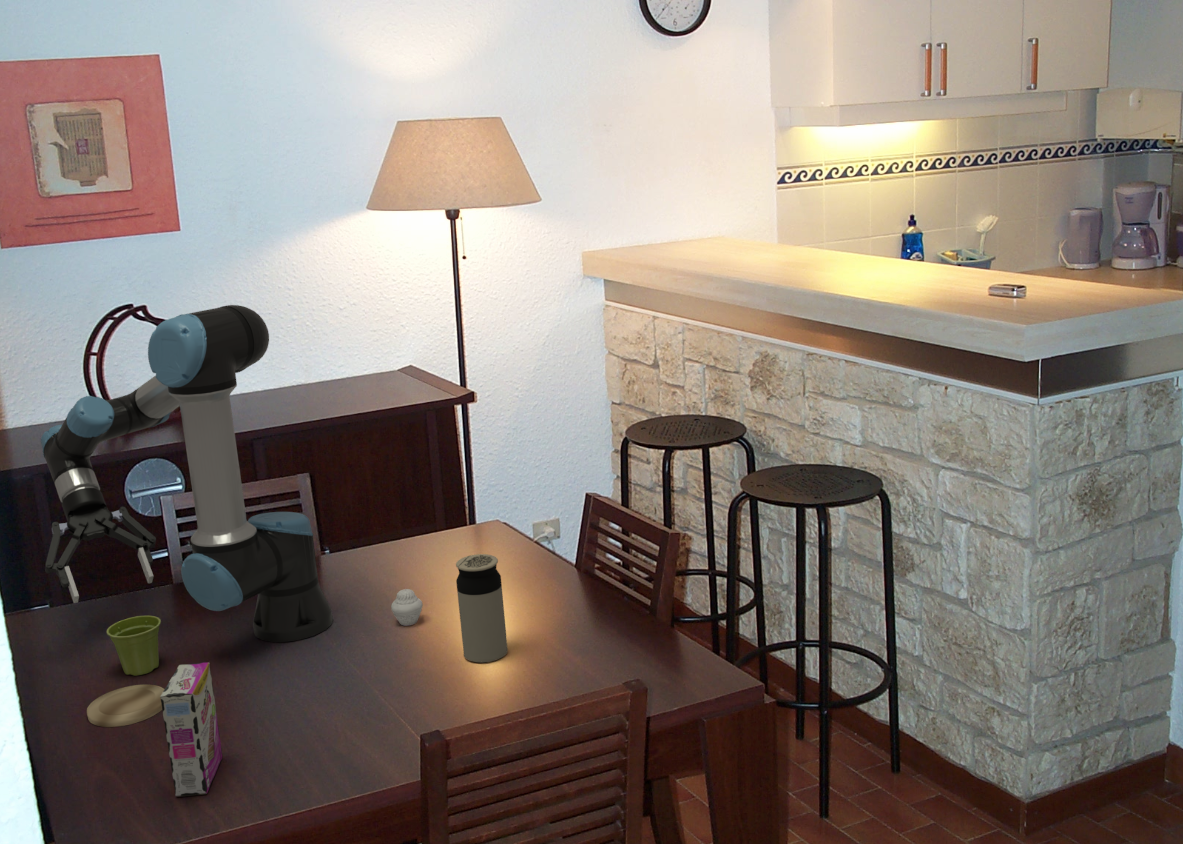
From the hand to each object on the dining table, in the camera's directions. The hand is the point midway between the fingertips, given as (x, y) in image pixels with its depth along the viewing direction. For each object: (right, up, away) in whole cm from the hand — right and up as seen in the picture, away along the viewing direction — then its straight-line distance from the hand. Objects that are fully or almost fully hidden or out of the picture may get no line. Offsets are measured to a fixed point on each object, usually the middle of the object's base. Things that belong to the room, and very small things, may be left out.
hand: (114, 589), depth 225 cm
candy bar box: (+31, -23, -43) cm, 58 cm away
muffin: (+54, -8, +9) cm, 55 cm away
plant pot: (+7, -14, -4) cm, 16 cm away
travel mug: (+71, -11, -8) cm, 72 cm away
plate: (+10, -18, -19) cm, 28 cm away
